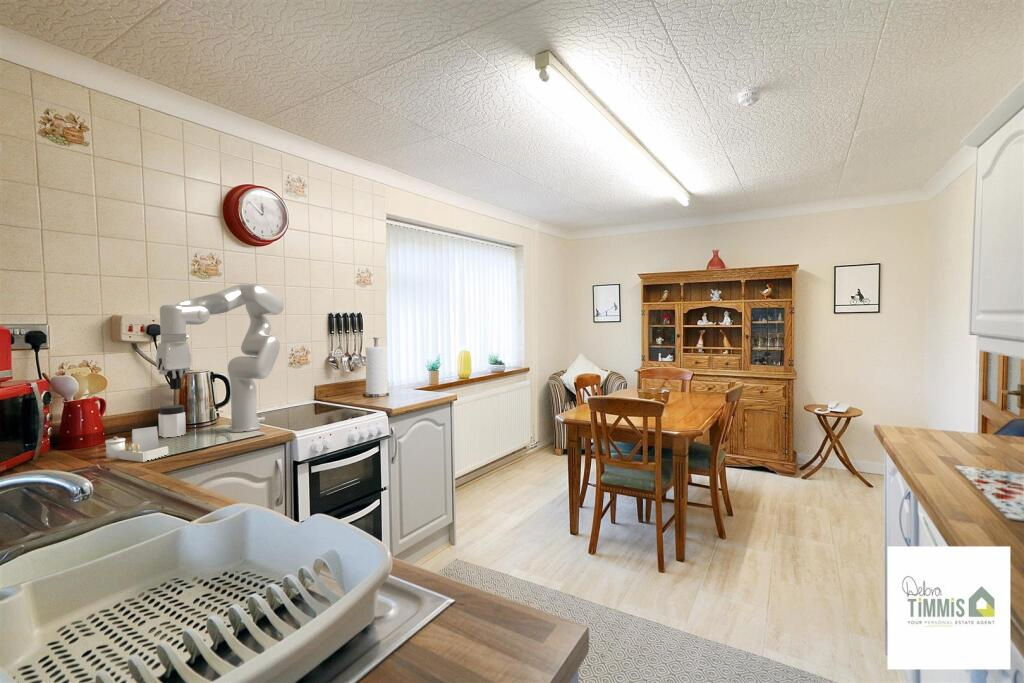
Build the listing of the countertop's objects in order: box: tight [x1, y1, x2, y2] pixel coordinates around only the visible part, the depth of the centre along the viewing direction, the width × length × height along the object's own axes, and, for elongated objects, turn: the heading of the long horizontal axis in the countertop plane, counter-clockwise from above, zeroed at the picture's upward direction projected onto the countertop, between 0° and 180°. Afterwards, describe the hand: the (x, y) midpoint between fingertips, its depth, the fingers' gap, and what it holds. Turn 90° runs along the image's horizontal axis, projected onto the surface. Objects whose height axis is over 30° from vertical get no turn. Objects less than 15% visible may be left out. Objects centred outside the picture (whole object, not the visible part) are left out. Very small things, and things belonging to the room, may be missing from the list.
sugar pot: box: [104, 436, 126, 459], centre depth 163 cm, size 5×5×7 cm
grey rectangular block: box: [131, 425, 159, 452], centre depth 162 cm, size 4×7×10 cm, turn 136°
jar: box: [158, 404, 187, 438], centre depth 191 cm, size 9×8×12 cm
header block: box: [118, 442, 169, 463], centre depth 161 cm, size 8×11×5 cm
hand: (175, 388), depth 172 cm, fingers closed
